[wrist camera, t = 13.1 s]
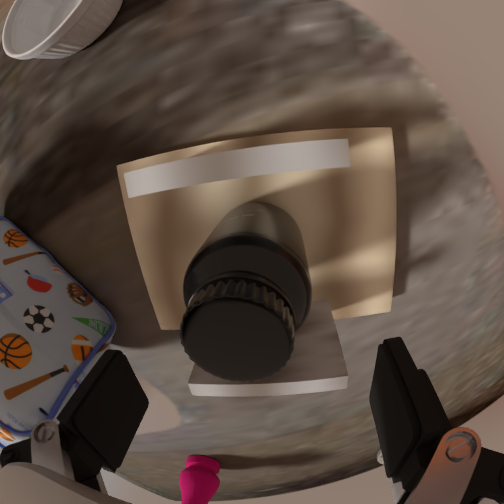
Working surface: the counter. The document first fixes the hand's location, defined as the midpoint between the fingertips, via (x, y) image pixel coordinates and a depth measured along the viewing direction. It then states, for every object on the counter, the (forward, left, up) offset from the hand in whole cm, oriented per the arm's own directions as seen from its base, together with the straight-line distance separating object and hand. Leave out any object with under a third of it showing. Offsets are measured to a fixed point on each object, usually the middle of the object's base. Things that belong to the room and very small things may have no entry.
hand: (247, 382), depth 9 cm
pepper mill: (+16, +42, -16) cm, 47 cm away
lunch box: (+28, +2, -16) cm, 33 cm away
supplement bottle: (+1, 0, -14) cm, 14 cm away
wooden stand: (0, 0, -16) cm, 16 cm away
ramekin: (+15, -27, -16) cm, 35 cm away
